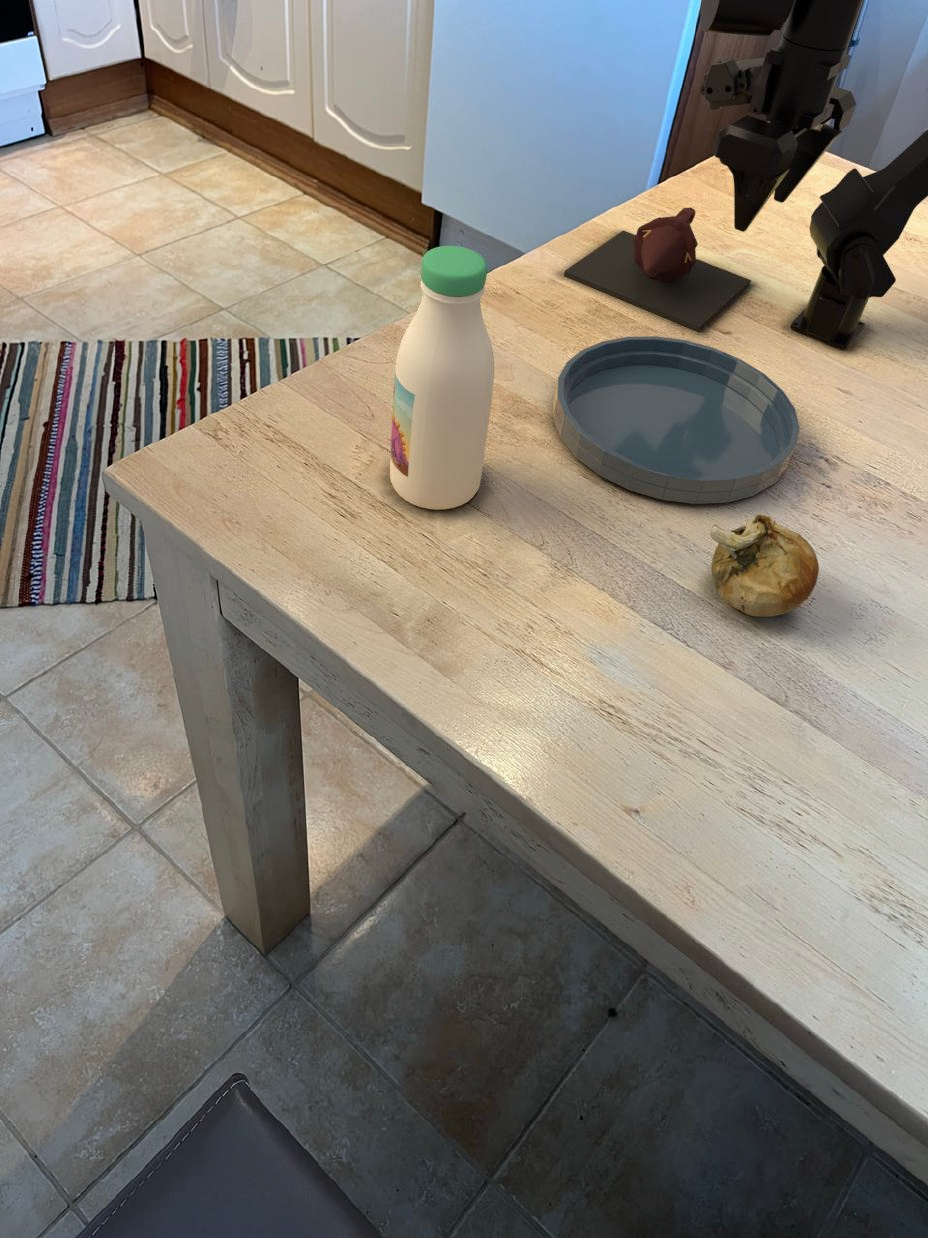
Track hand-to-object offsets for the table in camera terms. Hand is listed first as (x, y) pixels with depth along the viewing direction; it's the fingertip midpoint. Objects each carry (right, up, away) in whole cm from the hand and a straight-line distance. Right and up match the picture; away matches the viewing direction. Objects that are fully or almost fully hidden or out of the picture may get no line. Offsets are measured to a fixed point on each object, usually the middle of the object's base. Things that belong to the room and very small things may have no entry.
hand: (759, 214), depth 95 cm
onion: (-7, -39, -20) cm, 44 cm away
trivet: (-7, -2, +14) cm, 16 cm away
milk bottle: (-32, -29, -14) cm, 45 cm away
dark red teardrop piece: (-7, -2, +13) cm, 15 cm away
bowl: (-10, -22, -6) cm, 25 cm away
